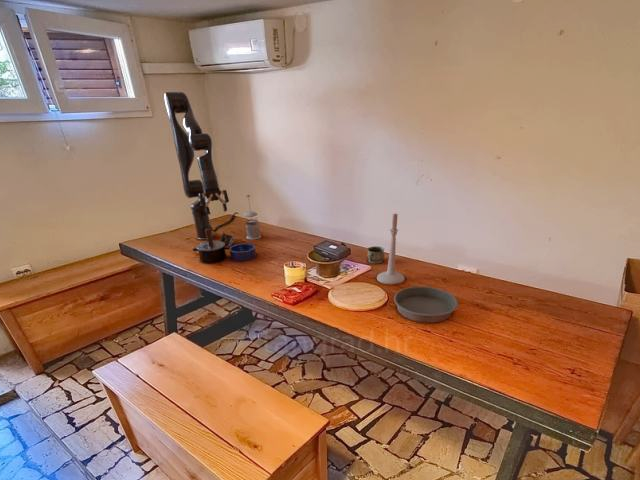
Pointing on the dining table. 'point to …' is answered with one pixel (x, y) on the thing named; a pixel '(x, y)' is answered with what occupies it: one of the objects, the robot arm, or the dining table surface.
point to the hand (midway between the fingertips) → (217, 212)
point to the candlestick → (391, 260)
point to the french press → (252, 225)
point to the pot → (212, 255)
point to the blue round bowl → (242, 252)
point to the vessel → (375, 254)
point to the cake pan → (425, 304)
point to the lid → (210, 243)
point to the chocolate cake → (227, 239)
